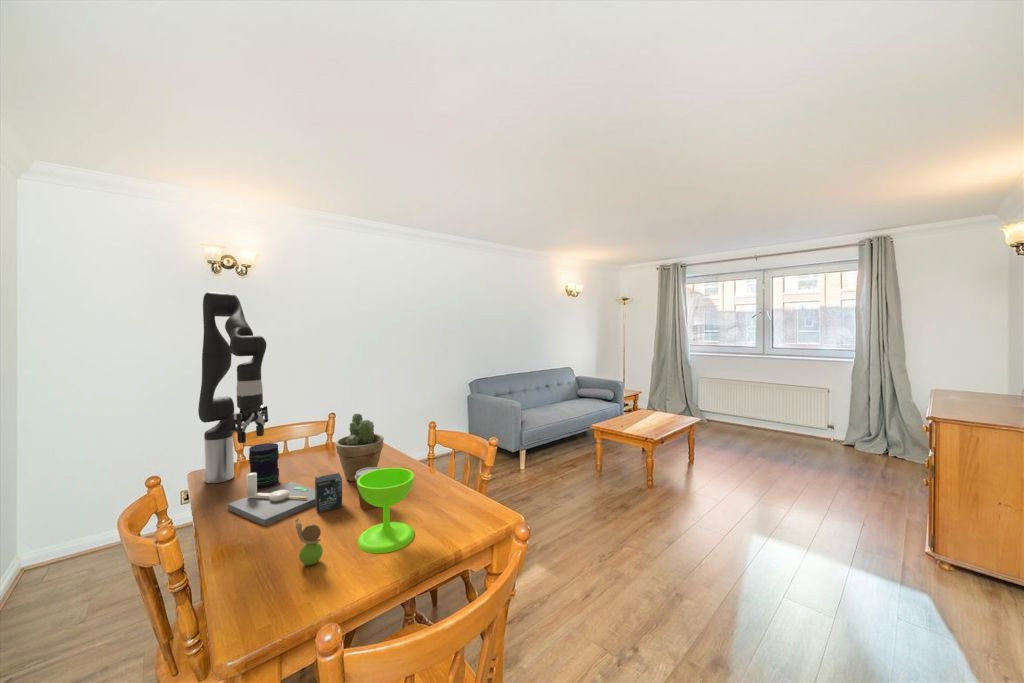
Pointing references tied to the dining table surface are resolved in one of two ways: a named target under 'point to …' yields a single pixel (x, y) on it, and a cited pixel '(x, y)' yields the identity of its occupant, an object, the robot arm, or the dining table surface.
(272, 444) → the storage jar
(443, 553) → the dining table surface
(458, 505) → the dining table surface
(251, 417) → the robot arm
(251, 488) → the tuning crank
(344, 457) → the potted plant
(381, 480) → the wineglass
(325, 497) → the box
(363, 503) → the disposable coffee cup
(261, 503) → the dial board
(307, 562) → the snail figurine
